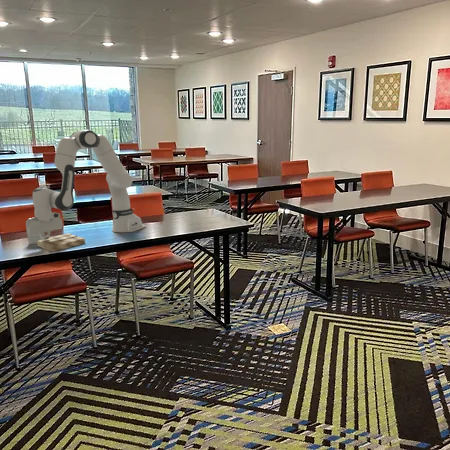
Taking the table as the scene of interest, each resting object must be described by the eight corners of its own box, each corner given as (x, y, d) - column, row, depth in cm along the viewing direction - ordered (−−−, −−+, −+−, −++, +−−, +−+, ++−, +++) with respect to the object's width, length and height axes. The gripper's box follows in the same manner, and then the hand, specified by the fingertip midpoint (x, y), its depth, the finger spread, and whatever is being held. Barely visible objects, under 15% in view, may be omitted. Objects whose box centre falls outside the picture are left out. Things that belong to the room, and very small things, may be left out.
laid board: (77, 241, 251) (76, 235, 250) (85, 243, 246) (84, 237, 245) (46, 249, 236) (45, 243, 235) (53, 251, 231) (53, 245, 230)
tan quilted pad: (68, 237, 256) (68, 232, 255) (76, 241, 251) (76, 235, 250) (37, 245, 241) (37, 240, 240) (45, 249, 236) (45, 243, 235)
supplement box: (45, 240, 255) (43, 220, 252) (41, 243, 247) (38, 223, 244) (33, 241, 254) (30, 220, 251) (28, 244, 247) (25, 223, 244)
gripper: (28, 220, 228) (31, 244, 231) (62, 213, 244) (65, 236, 247) (22, 218, 232) (26, 242, 235) (56, 212, 247) (59, 234, 251)
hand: (46, 239), depth 241 cm, fingers closed
